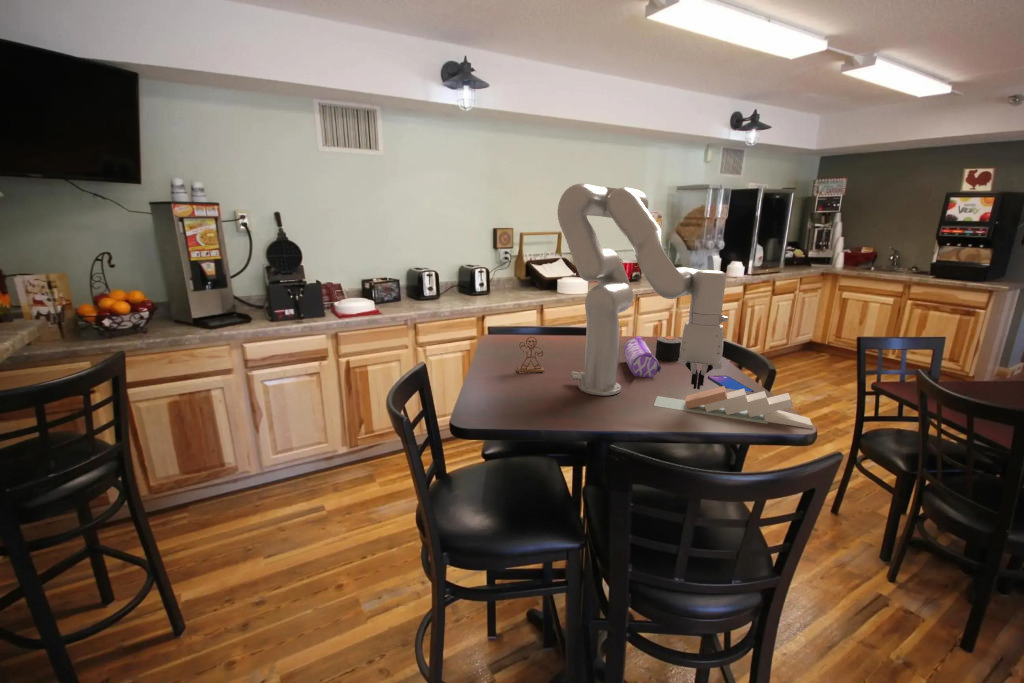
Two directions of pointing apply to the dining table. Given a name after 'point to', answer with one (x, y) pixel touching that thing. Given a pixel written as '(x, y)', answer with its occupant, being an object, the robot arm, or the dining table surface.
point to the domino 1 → (706, 397)
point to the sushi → (668, 348)
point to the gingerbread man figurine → (535, 368)
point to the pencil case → (640, 358)
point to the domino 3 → (749, 403)
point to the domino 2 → (728, 400)
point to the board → (721, 412)
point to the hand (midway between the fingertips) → (696, 387)
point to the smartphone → (729, 383)
